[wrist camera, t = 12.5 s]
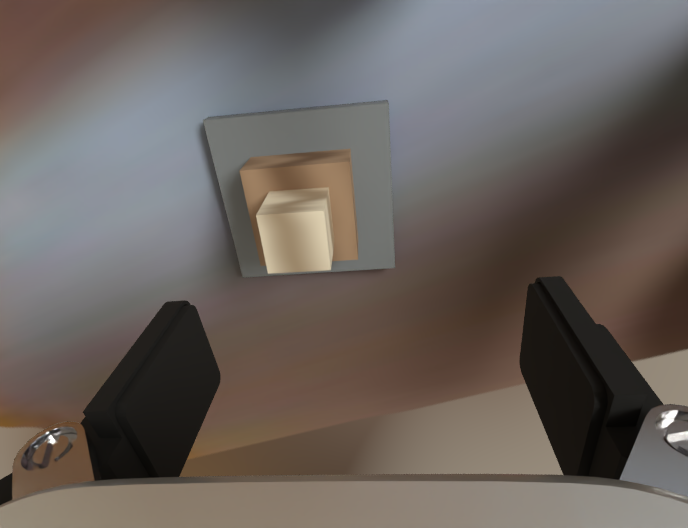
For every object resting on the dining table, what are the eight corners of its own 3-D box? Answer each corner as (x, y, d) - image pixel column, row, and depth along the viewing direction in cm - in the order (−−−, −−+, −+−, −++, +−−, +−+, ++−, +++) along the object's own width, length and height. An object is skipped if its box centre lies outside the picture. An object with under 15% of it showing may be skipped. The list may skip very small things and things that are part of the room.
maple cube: (328, 187, 34) (323, 210, 30) (334, 241, 37) (330, 270, 32) (269, 191, 35) (255, 215, 30) (278, 244, 37) (267, 273, 33)
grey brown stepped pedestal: (387, 100, 36) (391, 111, 31) (394, 260, 44) (398, 289, 39) (208, 117, 37) (185, 130, 32) (246, 270, 45) (232, 299, 40)
